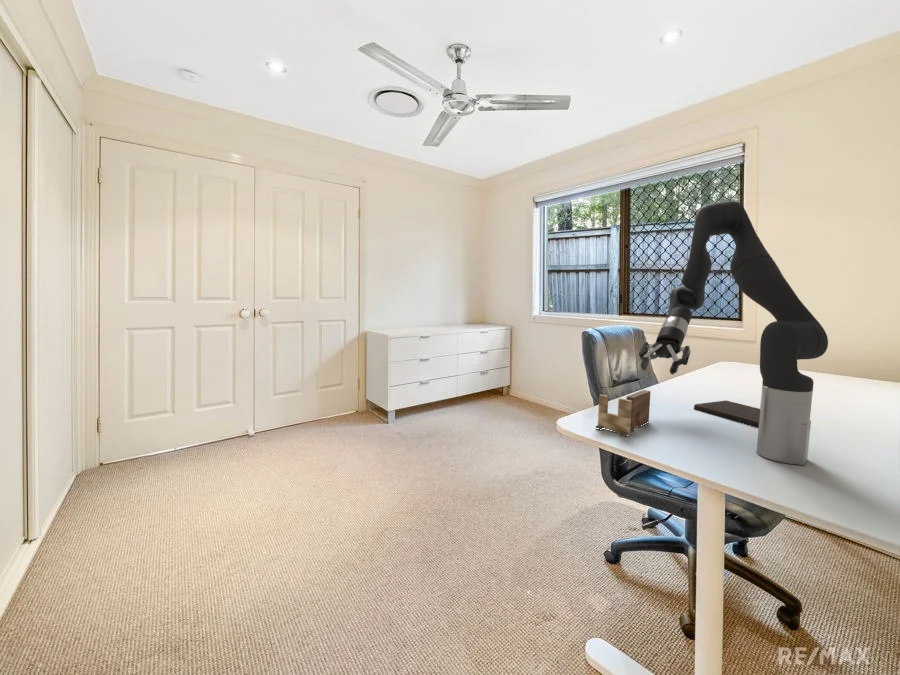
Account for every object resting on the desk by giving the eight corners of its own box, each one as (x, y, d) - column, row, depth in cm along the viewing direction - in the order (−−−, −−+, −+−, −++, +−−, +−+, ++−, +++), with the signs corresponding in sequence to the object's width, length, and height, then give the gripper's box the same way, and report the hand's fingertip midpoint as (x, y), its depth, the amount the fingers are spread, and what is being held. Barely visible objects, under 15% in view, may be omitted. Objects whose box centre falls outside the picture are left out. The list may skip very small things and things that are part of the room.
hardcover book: (725, 406, 141) (726, 400, 141) (800, 426, 120) (801, 419, 120) (693, 410, 136) (693, 404, 136) (766, 432, 114) (766, 424, 114)
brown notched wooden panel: (648, 422, 121) (650, 391, 120) (631, 431, 113) (633, 397, 112) (642, 421, 123) (643, 389, 122) (624, 429, 115) (626, 396, 114)
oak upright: (632, 433, 111) (634, 399, 110) (625, 437, 109) (627, 402, 108) (602, 426, 118) (603, 393, 117) (595, 429, 115) (596, 395, 114)
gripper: (647, 324, 135) (631, 360, 128) (694, 326, 124) (679, 366, 118) (653, 338, 139) (637, 374, 133) (698, 342, 128) (684, 381, 122)
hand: (657, 370), depth 125 cm, fingers open, 8 cm apart
